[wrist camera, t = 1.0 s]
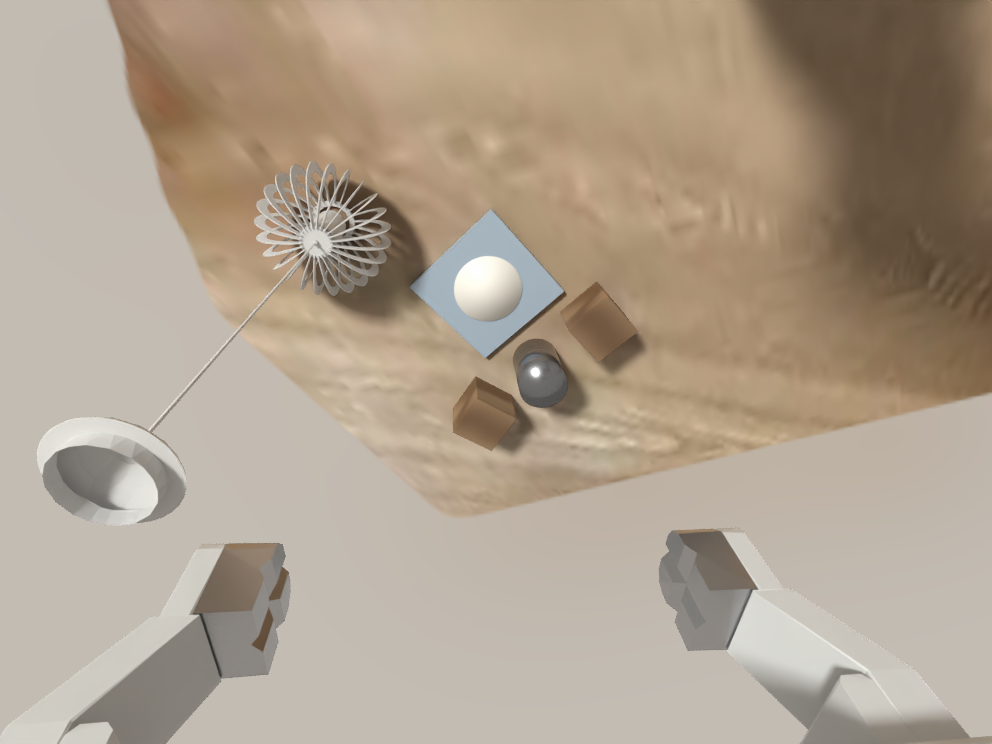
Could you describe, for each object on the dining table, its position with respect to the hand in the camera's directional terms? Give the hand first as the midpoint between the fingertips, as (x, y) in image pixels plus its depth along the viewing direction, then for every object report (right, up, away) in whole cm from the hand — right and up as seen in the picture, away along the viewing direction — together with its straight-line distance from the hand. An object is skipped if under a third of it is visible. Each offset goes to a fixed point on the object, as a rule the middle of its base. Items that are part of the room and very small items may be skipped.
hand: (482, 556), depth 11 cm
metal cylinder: (+4, +5, +36) cm, 36 cm away
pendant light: (-12, +16, +29) cm, 35 cm away
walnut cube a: (+9, +9, +34) cm, 36 cm away
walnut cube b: (-1, +1, +38) cm, 38 cm away
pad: (0, +11, +32) cm, 34 cm away
